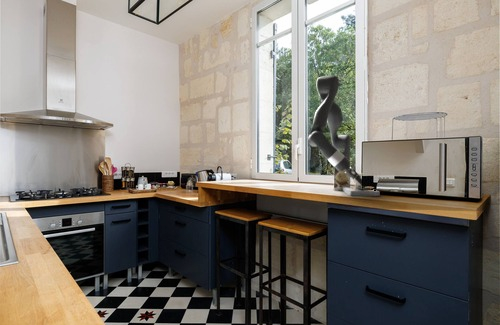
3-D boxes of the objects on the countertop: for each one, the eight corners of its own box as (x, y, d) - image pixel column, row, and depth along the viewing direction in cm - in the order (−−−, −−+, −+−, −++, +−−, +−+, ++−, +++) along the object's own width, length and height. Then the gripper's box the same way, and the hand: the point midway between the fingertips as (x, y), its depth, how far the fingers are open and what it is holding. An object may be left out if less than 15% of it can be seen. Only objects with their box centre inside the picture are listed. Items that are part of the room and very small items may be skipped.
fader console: (343, 191, 153) (343, 187, 153) (368, 191, 151) (368, 187, 151) (350, 195, 132) (350, 191, 132) (379, 195, 130) (379, 191, 130)
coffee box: (333, 190, 159) (333, 162, 159) (333, 189, 165) (333, 162, 165) (350, 190, 156) (350, 161, 156) (350, 189, 162) (349, 162, 162)
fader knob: (354, 188, 145) (354, 173, 145) (362, 188, 145) (362, 173, 145) (355, 188, 141) (355, 173, 141) (364, 188, 141) (364, 173, 141)
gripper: (346, 155, 137) (372, 180, 135) (341, 156, 151) (365, 178, 149) (335, 166, 138) (361, 190, 136) (331, 165, 152) (355, 188, 150)
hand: (363, 184), depth 143 cm, fingers closed on fader knob, 3 cm apart
